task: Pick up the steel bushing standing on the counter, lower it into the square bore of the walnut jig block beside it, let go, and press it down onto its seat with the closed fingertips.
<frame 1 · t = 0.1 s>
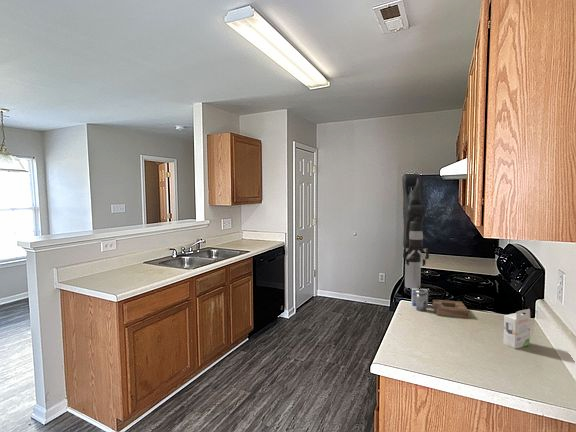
hand: (415, 265, 191), 17 cm above the countertop, tool pointing down, fingers open, 8 cm apart
bushing: (421, 309, 166), on the countertop
medicine box: (419, 305, 173), on the countertop
ink box: (516, 345, 127), on the countertop
jig: (449, 311, 163), on the countertop
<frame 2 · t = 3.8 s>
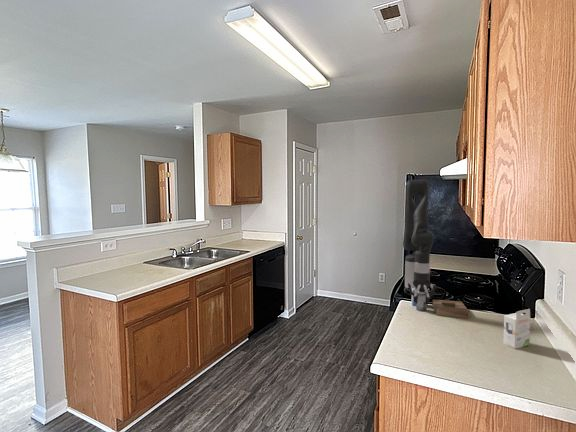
hand: (421, 303, 165), 3 cm above the countertop, tool pointing down, fingers closed on bushing, 4 cm apart
bushing: (421, 309, 166), on the countertop, touching gripper
everything else where it was.
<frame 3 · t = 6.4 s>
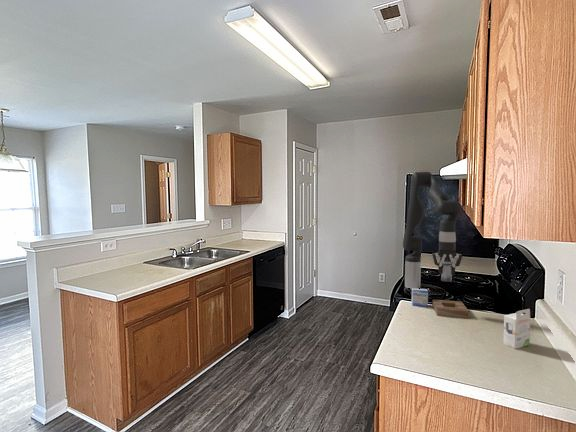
hand: (446, 273, 162), 19 cm above the countertop, tool pointing down, fingers closed on bushing, 4 cm apart
bushing: (446, 280, 162), point 16 cm above the countertop, touching gripper
everything else where it was.
when the fingers open (5 cm above the countertop, at t = 9.1 s): bushing stays where it is, resting in jig.
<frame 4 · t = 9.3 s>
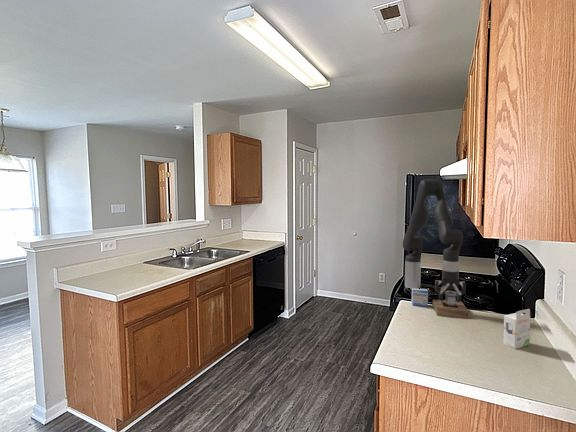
hand: (449, 301, 162), 5 cm above the countertop, tool pointing down, fingers open, 7 cm apart
bushing: (450, 311, 162), resting in jig
everything else where it was.
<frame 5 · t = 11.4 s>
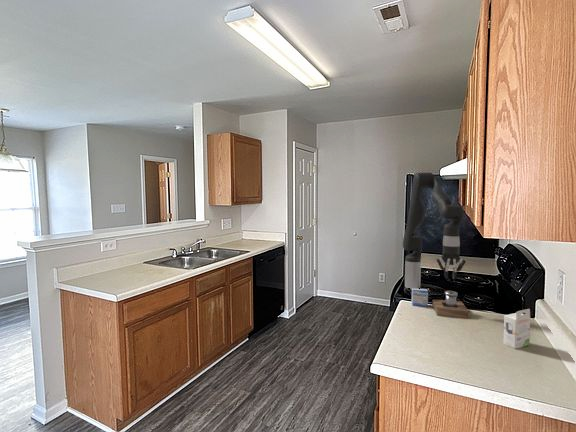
hand: (450, 278, 161), 17 cm above the countertop, tool pointing down, fingers closed
nothing on the countertop moved.
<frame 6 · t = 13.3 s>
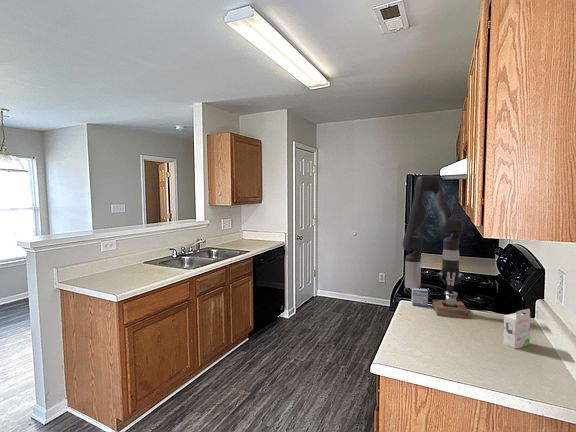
hand: (449, 292, 162), 10 cm above the countertop, tool pointing down, fingers closed
bushing: (450, 311, 162), resting in jig, touching gripper
everything else where it was.
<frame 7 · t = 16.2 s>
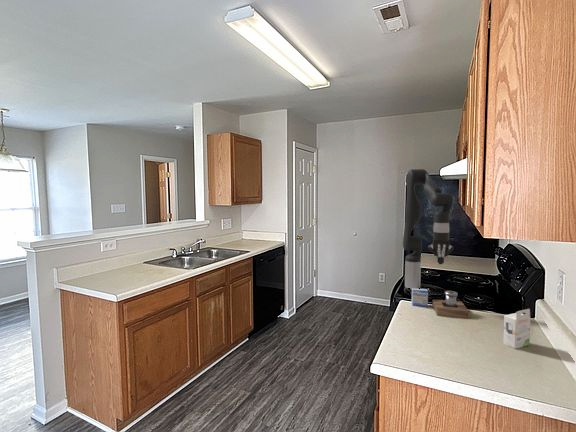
hand: (440, 263, 168), 23 cm above the countertop, tool pointing down, fingers closed
bushing: (450, 311, 162), resting in jig
everything else where it was.
at the end: bushing 0.5 cm off-centre on the jig, point 0.0 cm above the jig's base; bushing tilted 0°; the gripper is holding nothing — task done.
